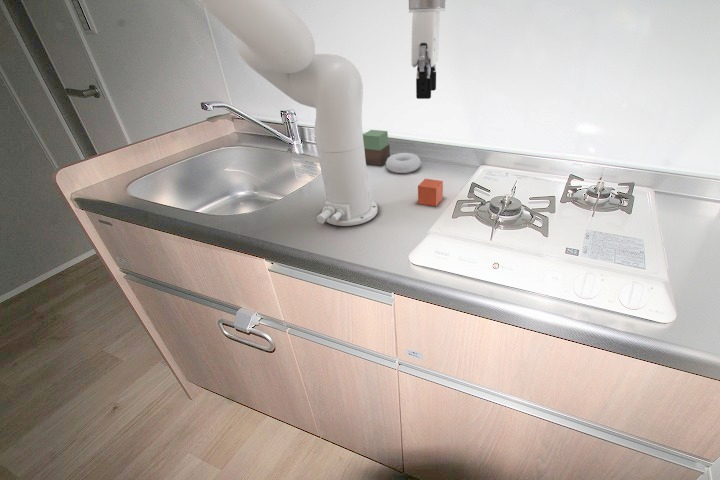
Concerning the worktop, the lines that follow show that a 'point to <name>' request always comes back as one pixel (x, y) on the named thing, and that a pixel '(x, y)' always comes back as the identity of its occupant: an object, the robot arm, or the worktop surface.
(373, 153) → the stack base
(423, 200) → the toy cube
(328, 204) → the robot arm
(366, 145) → the stack middle
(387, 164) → the donut
